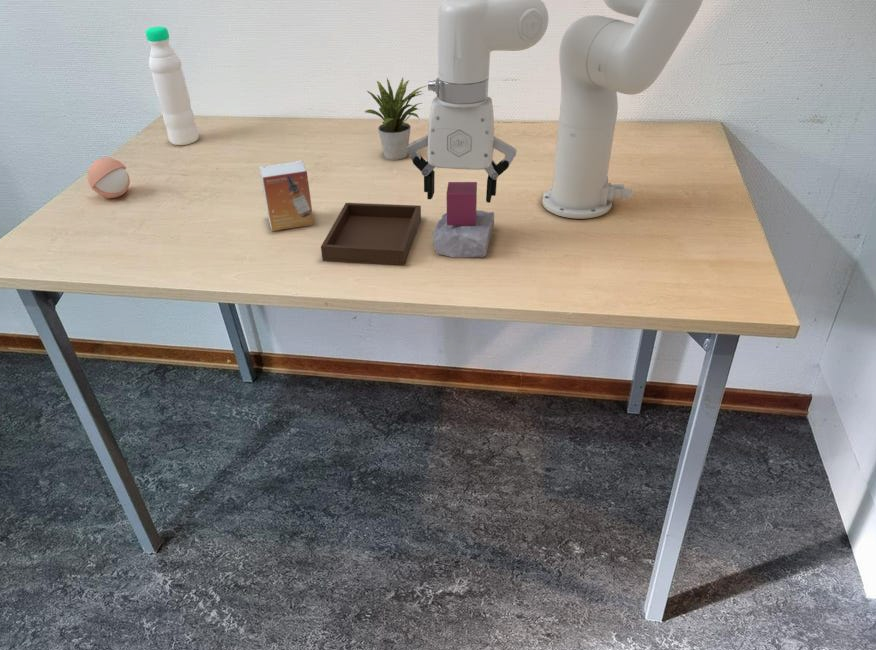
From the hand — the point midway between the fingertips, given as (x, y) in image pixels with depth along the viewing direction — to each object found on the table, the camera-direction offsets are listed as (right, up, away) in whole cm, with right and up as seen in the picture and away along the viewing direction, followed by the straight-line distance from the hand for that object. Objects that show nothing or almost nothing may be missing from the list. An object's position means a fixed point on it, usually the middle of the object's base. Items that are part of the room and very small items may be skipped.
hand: (459, 197), depth 109 cm
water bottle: (-62, +26, +51) cm, 85 cm away
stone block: (+1, -6, +5) cm, 8 cm away
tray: (-14, -6, +7) cm, 17 cm away
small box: (-30, -1, +14) cm, 33 cm away
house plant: (-10, +18, +36) cm, 41 cm away
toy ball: (-69, +7, +28) cm, 75 cm away
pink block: (+1, -3, +3) cm, 4 cm away
